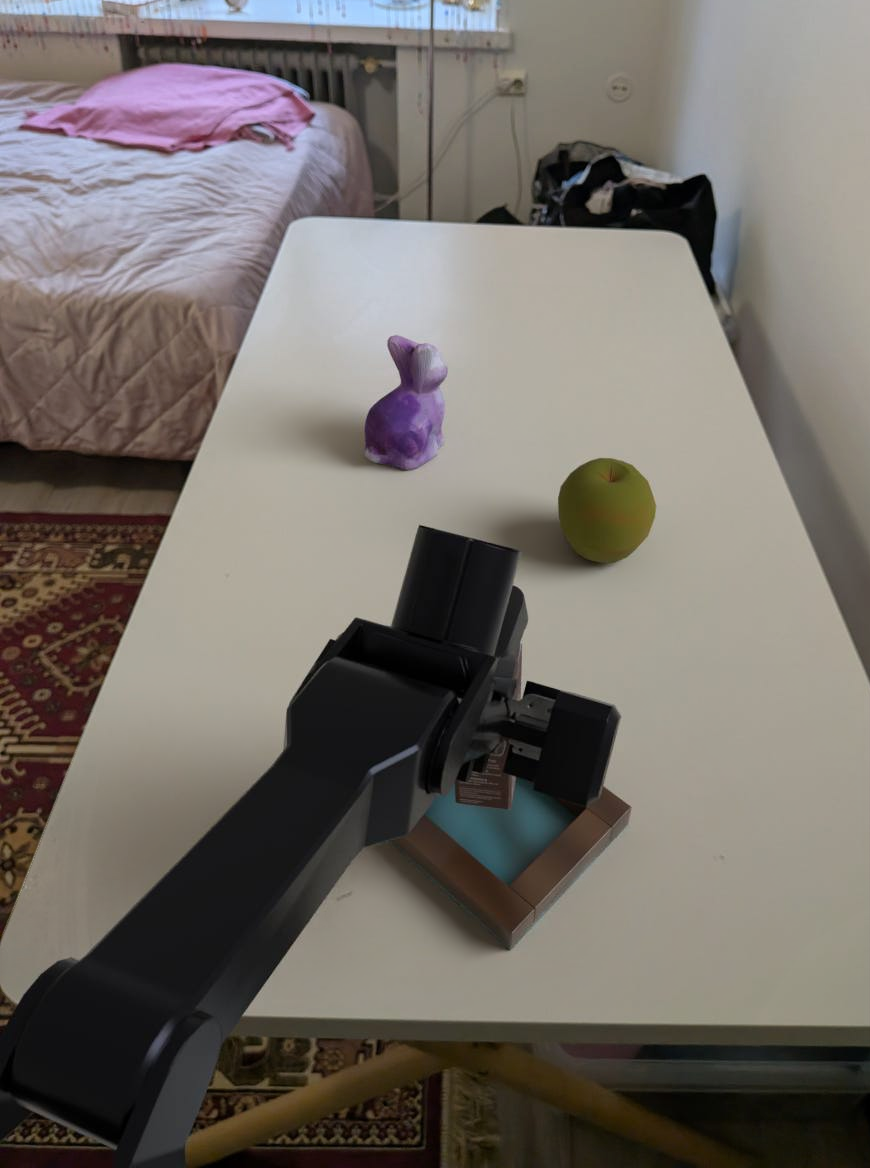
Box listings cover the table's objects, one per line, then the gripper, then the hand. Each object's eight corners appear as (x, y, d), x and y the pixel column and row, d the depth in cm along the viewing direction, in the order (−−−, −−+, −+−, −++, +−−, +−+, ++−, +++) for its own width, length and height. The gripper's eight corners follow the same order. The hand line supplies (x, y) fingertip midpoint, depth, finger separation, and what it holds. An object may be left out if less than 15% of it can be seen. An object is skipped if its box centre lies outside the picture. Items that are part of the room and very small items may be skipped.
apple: (536, 533, 102) (543, 448, 95) (612, 508, 106) (624, 425, 99) (587, 591, 96) (599, 505, 89) (666, 562, 99) (683, 477, 92)
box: (462, 740, 74) (464, 630, 67) (520, 748, 74) (528, 638, 66) (449, 806, 69) (449, 695, 62) (510, 814, 69) (518, 704, 61)
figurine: (448, 423, 118) (448, 313, 108) (445, 473, 110) (445, 358, 100) (371, 421, 118) (365, 310, 108) (363, 471, 110) (355, 356, 100)
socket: (510, 951, 67) (511, 934, 66) (366, 821, 75) (365, 803, 73) (628, 824, 75) (632, 806, 74) (487, 719, 83) (488, 701, 81)
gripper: (635, 624, 51) (649, 632, 67) (323, 540, 56) (402, 566, 71) (582, 828, 51) (609, 789, 66) (270, 726, 55) (362, 712, 70)
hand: (492, 707), depth 68 cm, fingers closed on box, 5 cm apart
